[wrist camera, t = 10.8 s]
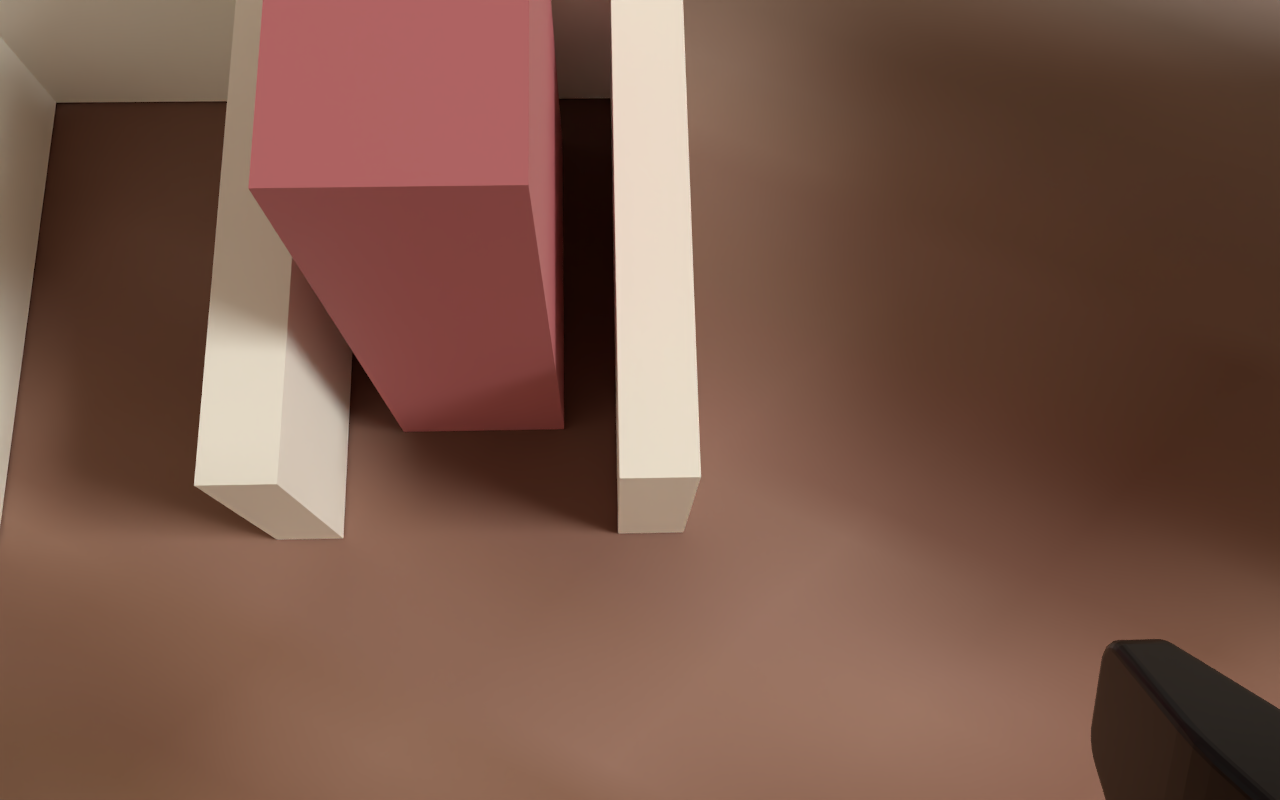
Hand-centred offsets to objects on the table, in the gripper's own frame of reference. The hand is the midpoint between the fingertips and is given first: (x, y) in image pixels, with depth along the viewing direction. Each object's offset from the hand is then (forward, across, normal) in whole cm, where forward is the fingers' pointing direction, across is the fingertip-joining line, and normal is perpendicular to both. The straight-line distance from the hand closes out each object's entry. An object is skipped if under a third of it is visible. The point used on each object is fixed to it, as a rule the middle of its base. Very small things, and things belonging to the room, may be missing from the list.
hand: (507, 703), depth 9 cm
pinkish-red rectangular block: (+15, +2, +2) cm, 15 cm away
